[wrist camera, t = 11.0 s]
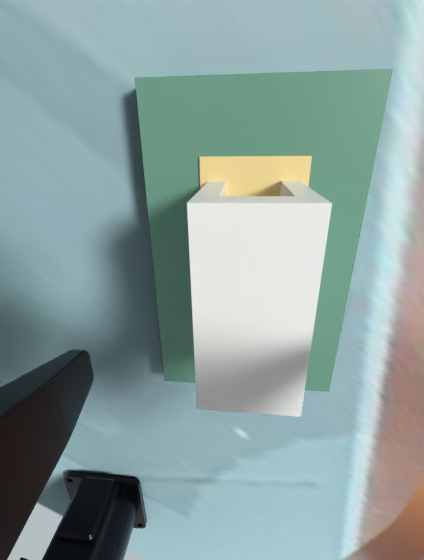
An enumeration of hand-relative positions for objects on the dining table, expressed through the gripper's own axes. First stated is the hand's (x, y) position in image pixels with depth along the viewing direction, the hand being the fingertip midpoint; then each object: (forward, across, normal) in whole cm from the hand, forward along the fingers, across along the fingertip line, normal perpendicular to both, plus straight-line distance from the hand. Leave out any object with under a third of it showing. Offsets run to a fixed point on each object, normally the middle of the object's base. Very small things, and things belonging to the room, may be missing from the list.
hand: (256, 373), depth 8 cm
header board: (+9, 0, 0) cm, 9 cm away
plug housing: (+8, 0, 0) cm, 8 cm away
